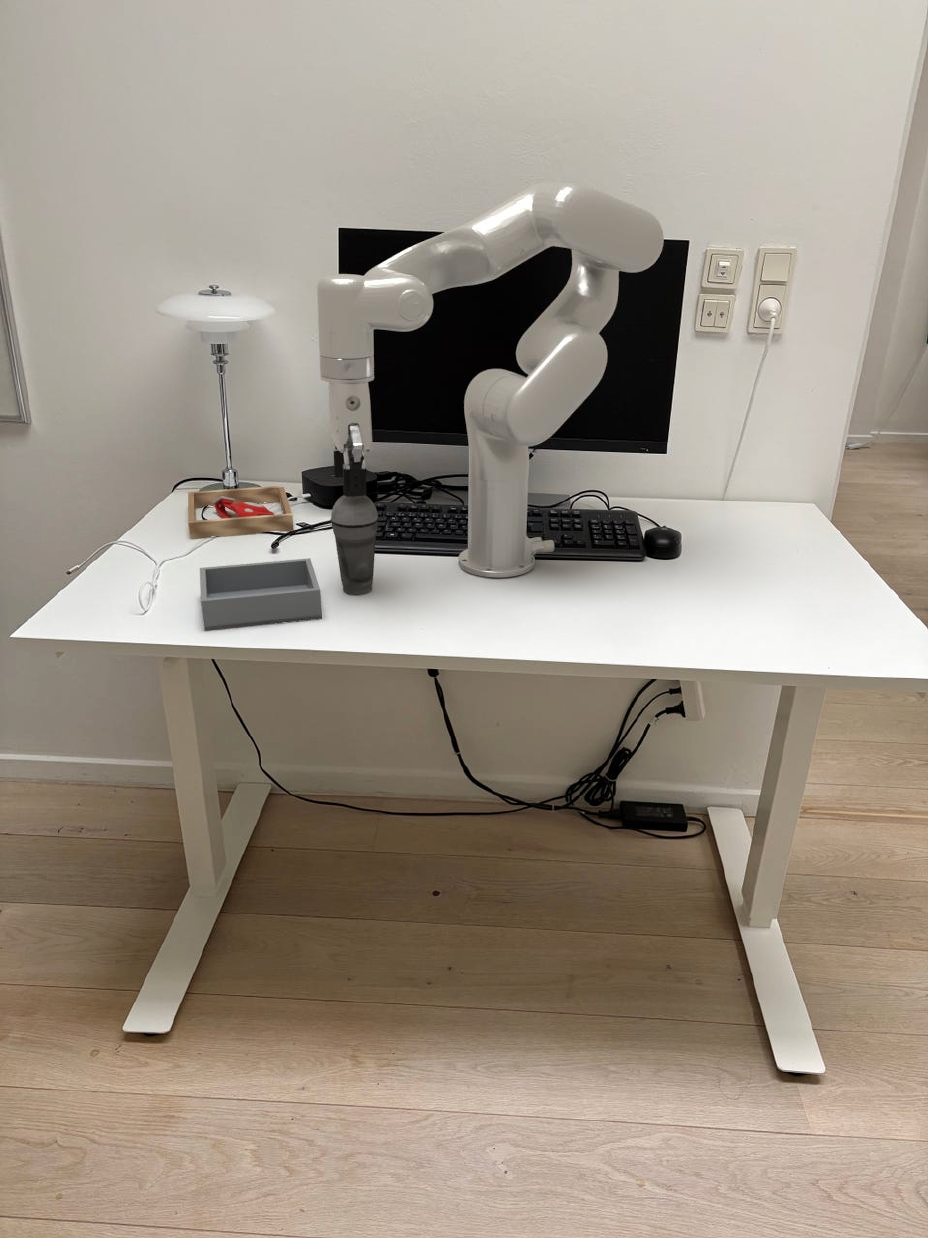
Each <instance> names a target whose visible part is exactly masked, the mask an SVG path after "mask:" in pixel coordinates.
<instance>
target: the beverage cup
mask: <svg viewBox="0 0 928 1238" xmlns="http://www.w3.org/2000/svg"><path fill="white" fill-rule="evenodd" d="M343 469H345V464H343ZM373 502H374V501H372V499H370V497H368V496H367V495H365V496H352V497H346V496H345V495H344V494H343V495H342V496H340V497H339V498H337V500H336V501H335V503H334V505H333V507H332V510H331V515H330V520H329V521H330V524H331V528H332V532H333V535H334V541H335V545H336V555H337V559H338V560H337V561H338V568H339V573H340V575H339V576H340V581H341V585H342V592H343V593H344V594H346V595H348V596H364V595H367V594H369V593H371V592H372V591H373V583H374V582H373V581H374V571H375V553H376V552H375V551H376V535H377V530H378V525H379V520H380V519H379V516H378V515H379V514H378V510H377V508H376V506H375V504H374V503H373Z"/></svg>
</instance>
